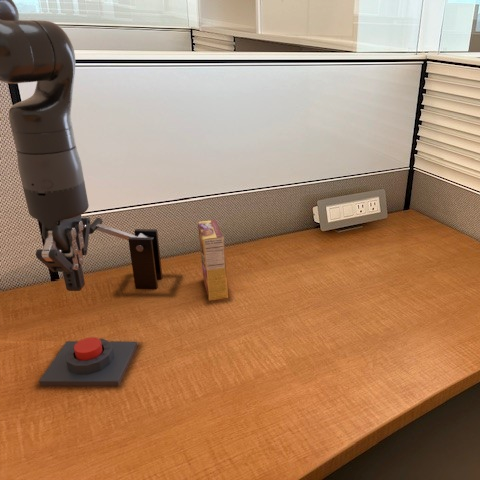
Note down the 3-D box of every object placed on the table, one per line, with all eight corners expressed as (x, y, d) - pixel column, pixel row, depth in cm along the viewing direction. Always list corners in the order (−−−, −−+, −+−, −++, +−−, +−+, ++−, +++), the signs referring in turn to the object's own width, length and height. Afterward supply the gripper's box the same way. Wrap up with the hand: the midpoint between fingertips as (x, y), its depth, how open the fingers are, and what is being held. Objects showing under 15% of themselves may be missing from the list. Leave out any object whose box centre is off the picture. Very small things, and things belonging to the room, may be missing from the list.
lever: (84, 234, 94) (87, 224, 93) (94, 224, 99) (96, 214, 98) (145, 254, 97) (148, 244, 96) (152, 243, 101) (155, 234, 100)
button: (71, 361, 76) (69, 352, 76) (81, 345, 80) (80, 337, 79) (97, 361, 77) (95, 352, 76) (106, 345, 80) (104, 337, 80)
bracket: (117, 297, 99) (108, 242, 94) (129, 278, 106) (121, 225, 101) (171, 298, 100) (165, 243, 94) (179, 279, 107) (174, 226, 101)
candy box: (202, 284, 105) (197, 220, 99) (221, 282, 107) (218, 218, 100) (207, 306, 98) (202, 238, 91) (228, 303, 99) (225, 236, 92)
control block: (40, 389, 75) (36, 372, 73) (68, 349, 84) (64, 332, 82) (119, 389, 76) (116, 372, 74) (138, 349, 85) (135, 333, 83)
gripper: (47, 165, 71) (69, 267, 79) (-2, 196, 60) (29, 312, 67) (99, 166, 72) (116, 268, 79) (60, 197, 60) (84, 313, 67)
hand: (76, 288), depth 73 cm, fingers closed
